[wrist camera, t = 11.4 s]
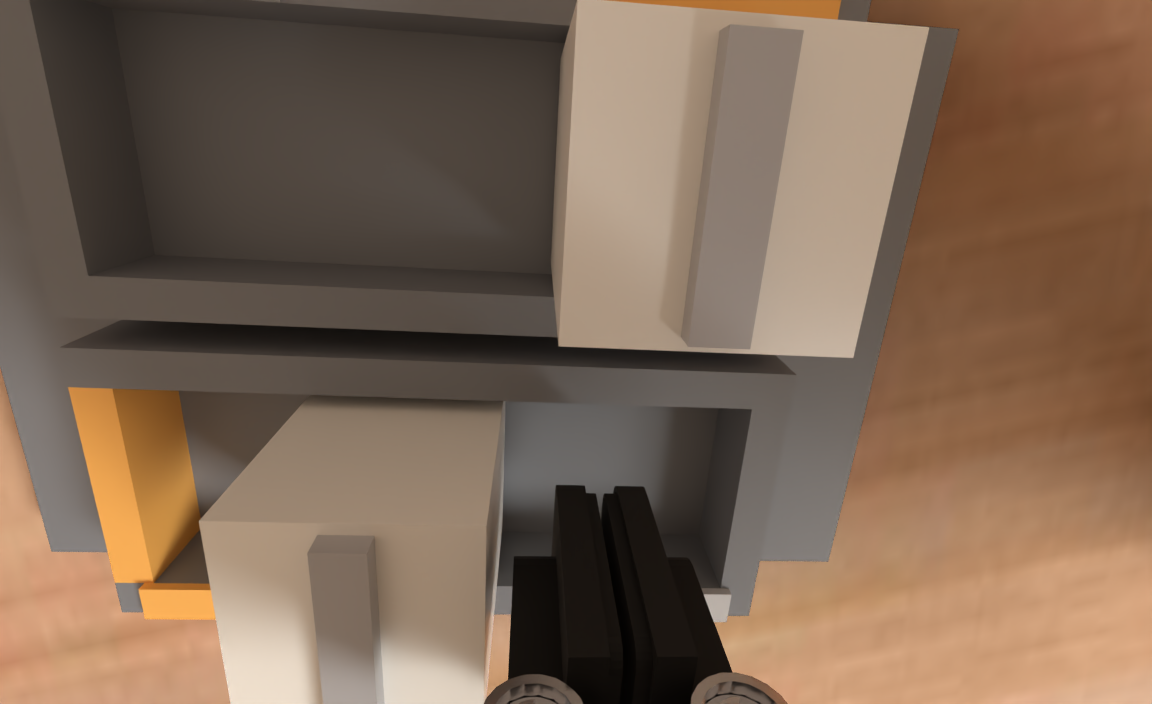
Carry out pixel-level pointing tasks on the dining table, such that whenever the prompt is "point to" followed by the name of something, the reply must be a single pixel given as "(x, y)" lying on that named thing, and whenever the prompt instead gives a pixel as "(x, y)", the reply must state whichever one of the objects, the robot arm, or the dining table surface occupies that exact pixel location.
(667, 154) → the off-white rectangular block
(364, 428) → the tab far
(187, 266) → the switch board
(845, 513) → the dining table surface
